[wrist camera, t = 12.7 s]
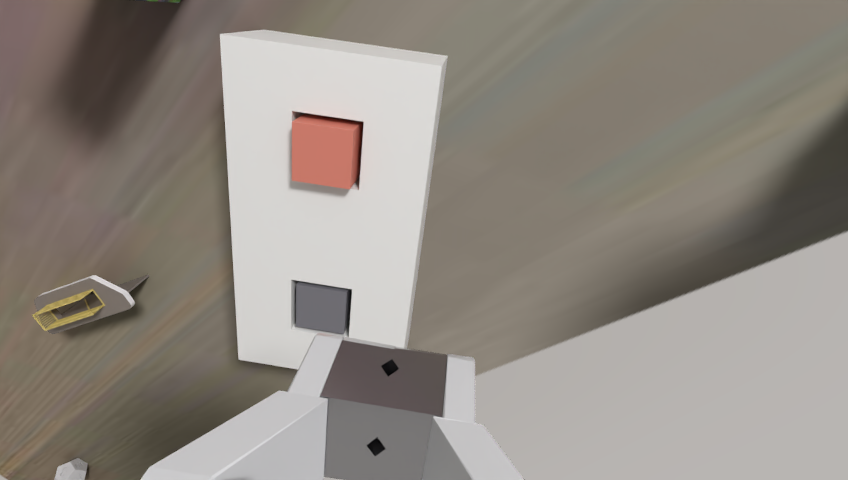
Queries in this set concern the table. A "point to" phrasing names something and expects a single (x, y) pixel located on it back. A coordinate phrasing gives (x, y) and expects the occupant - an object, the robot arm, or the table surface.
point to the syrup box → (163, 0)
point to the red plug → (326, 150)
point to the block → (324, 205)
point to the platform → (83, 302)
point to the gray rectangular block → (322, 307)
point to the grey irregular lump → (72, 470)
